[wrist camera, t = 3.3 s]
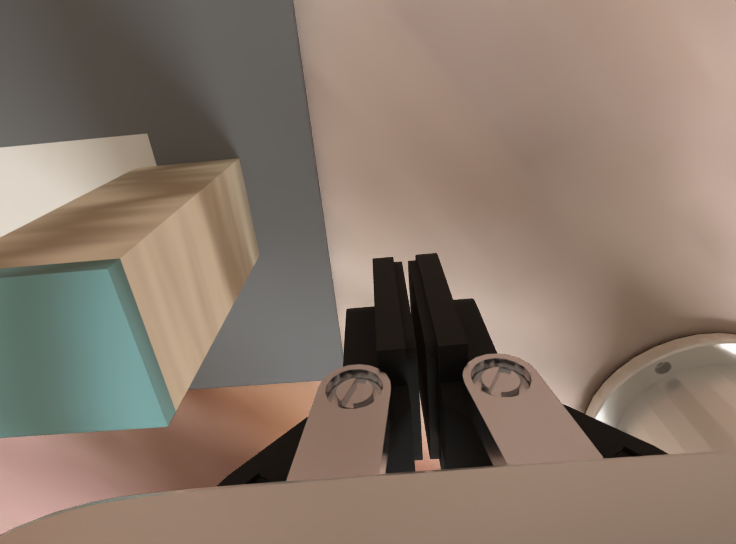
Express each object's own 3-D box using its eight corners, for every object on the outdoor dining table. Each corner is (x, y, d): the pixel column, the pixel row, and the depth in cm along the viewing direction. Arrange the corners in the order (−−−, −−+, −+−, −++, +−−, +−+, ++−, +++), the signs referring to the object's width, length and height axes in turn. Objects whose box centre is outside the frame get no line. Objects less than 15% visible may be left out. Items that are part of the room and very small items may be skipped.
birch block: (239, 158, 21) (107, 269, 11) (259, 254, 24) (168, 426, 13) (136, 167, 22) (-95, 285, 11) (166, 262, 24) (-2, 438, 13)
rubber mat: (283, -67, 18) (280, -71, 18) (345, 372, 28) (345, 379, 27) (-319, 2, 19) (-339, 1, 19) (-59, 399, 29) (-67, 406, 29)
